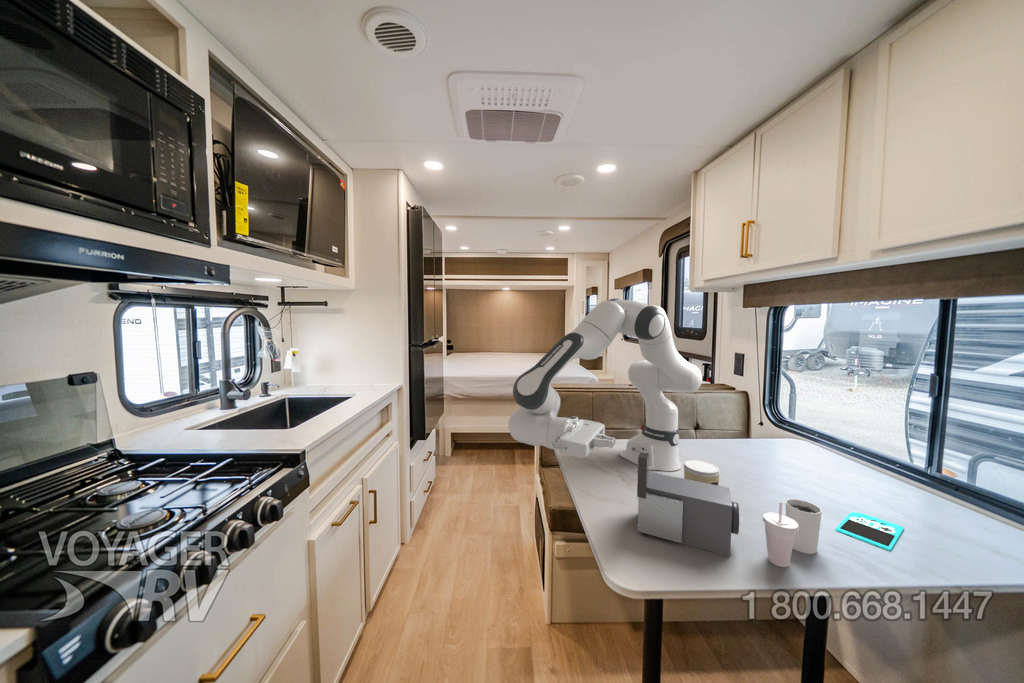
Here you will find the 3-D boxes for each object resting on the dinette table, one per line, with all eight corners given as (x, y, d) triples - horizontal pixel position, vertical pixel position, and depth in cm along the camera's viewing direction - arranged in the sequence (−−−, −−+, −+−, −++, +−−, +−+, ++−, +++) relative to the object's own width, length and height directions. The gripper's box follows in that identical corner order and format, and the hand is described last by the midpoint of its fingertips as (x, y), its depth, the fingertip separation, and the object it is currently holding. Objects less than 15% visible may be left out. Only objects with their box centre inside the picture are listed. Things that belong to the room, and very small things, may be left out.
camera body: (638, 532, 89) (639, 486, 88) (644, 512, 98) (645, 471, 97) (738, 560, 78) (740, 509, 78) (734, 535, 87) (736, 489, 87)
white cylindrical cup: (786, 533, 88) (788, 495, 87) (820, 546, 83) (823, 506, 83) (780, 545, 84) (783, 505, 83) (817, 559, 79) (820, 517, 78)
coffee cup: (720, 518, 95) (722, 475, 94) (682, 510, 99) (684, 469, 98) (716, 502, 103) (718, 462, 103) (681, 495, 107) (683, 457, 107)
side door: (636, 536, 85) (638, 457, 84) (638, 528, 88) (640, 452, 87) (681, 548, 81) (684, 465, 79) (681, 540, 84) (684, 459, 82)
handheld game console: (905, 531, 90) (905, 526, 90) (891, 554, 81) (891, 549, 81) (852, 513, 98) (852, 509, 98) (834, 532, 90) (835, 527, 90)
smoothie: (758, 561, 78) (761, 501, 77) (763, 548, 82) (766, 491, 82) (794, 576, 73) (798, 512, 73) (798, 561, 78) (801, 501, 77)
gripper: (548, 433, 86) (605, 442, 79) (574, 414, 104) (622, 421, 97) (548, 458, 86) (604, 469, 79) (574, 435, 104) (621, 443, 97)
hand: (614, 443), depth 88 cm, fingers closed
